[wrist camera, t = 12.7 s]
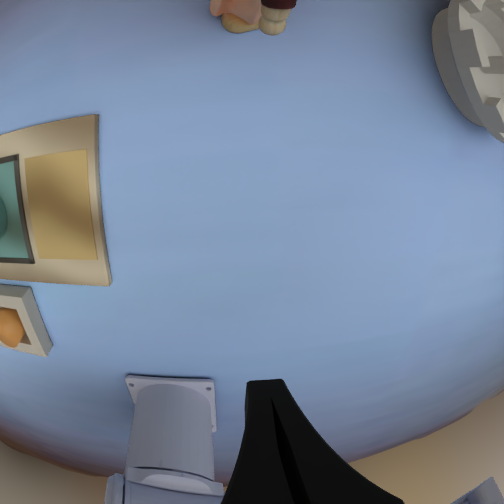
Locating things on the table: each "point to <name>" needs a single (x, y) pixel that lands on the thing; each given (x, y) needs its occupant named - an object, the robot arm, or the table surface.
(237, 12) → the grandmother figurine
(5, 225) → the green grey cylinder
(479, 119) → the flag stand
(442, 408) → the table surface
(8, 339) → the button
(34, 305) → the button housing
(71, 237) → the picture board
